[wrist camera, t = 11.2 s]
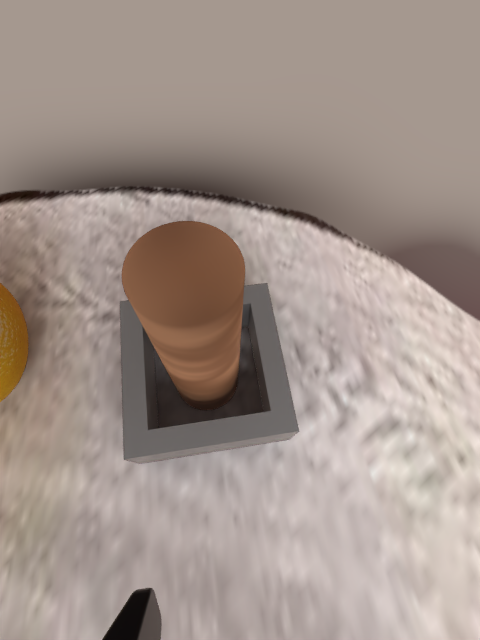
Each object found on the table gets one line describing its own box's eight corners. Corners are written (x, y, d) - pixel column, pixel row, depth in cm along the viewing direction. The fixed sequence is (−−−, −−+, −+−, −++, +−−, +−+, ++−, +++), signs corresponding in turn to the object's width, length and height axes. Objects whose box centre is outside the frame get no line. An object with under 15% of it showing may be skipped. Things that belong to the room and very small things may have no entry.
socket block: (139, 463, 22) (122, 459, 18) (133, 325, 25) (118, 299, 22) (289, 439, 22) (299, 430, 19) (262, 308, 26) (267, 281, 23)
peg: (194, 422, 23) (154, 348, 11) (165, 368, 24) (102, 251, 12) (249, 389, 24) (268, 288, 12) (218, 339, 25) (208, 204, 13)
